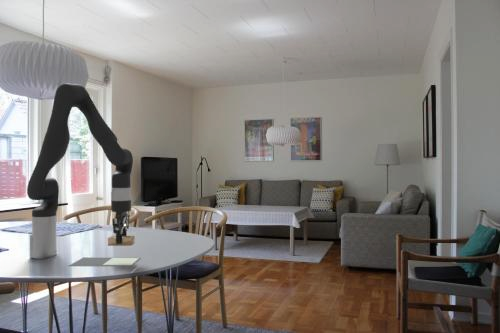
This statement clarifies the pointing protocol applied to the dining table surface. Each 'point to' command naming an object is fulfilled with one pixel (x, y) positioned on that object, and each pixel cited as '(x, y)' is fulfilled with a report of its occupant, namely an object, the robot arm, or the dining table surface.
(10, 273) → the dining table surface
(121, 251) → the dining table surface
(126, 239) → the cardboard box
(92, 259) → the mat
